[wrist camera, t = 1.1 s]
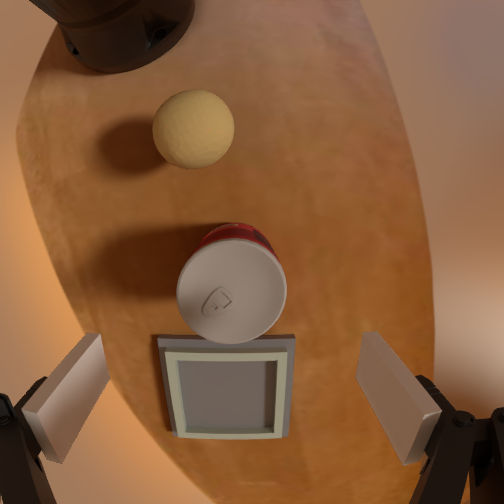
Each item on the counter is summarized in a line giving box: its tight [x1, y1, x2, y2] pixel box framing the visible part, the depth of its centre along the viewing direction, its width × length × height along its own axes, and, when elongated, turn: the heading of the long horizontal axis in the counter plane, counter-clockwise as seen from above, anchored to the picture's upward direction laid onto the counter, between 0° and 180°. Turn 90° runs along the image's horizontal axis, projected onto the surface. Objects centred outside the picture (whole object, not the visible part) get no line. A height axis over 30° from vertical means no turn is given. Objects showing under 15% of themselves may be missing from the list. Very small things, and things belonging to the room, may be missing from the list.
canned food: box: [176, 223, 287, 344], centre depth 27 cm, size 8×8×11 cm
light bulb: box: [152, 89, 234, 169], centre depth 25 cm, size 6×6×10 cm
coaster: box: [157, 334, 296, 439], centre depth 35 cm, size 15×15×2 cm
